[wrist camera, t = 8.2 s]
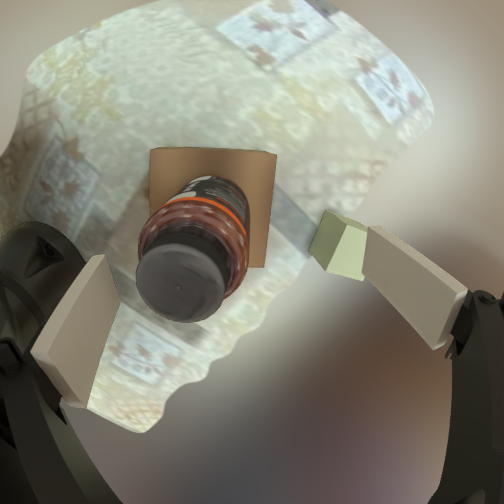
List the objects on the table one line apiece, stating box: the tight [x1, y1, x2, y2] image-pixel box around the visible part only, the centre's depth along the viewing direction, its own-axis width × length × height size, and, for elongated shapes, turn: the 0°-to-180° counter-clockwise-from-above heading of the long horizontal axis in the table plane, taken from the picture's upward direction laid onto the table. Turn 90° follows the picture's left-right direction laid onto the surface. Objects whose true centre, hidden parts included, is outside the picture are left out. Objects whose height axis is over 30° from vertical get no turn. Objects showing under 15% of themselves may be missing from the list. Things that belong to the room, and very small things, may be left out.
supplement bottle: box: [136, 175, 250, 323], centre depth 16 cm, size 6×6×11 cm
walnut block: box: [149, 147, 277, 268], centre depth 24 cm, size 10×10×5 cm
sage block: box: [308, 210, 368, 281], centre depth 28 cm, size 5×5×5 cm
